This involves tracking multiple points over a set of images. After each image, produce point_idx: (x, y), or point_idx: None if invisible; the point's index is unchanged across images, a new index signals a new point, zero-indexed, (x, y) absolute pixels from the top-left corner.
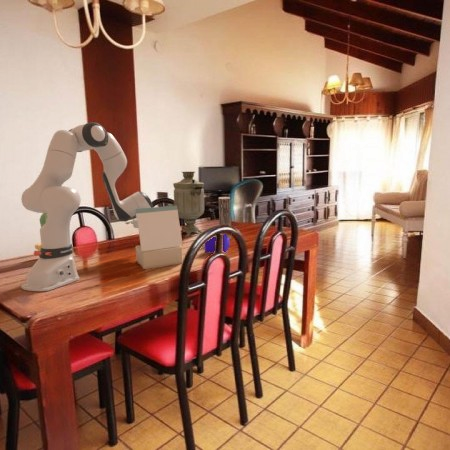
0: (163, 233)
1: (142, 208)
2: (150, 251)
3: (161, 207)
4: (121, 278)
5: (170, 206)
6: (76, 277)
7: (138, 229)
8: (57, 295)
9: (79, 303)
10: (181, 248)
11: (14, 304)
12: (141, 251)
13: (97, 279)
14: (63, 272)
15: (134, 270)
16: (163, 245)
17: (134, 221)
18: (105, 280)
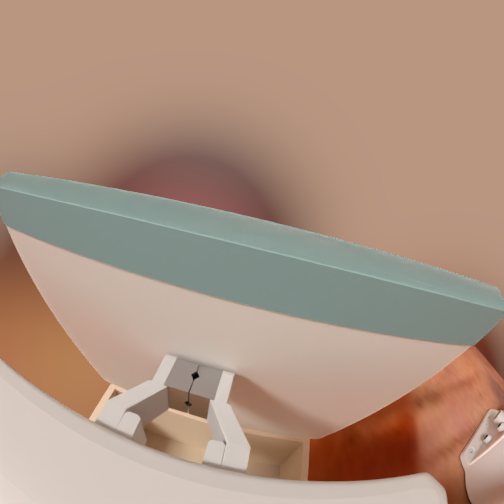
0: None
1: (445, 270)
2: (270, 435)
3: (147, 205)
4: (369, 423)
5: (50, 183)
6: (468, 452)
7: (380, 408)
8: (467, 387)
9: None
10: (113, 385)
11: (499, 380)
12: (308, 465)
13: (424, 444)
14: (496, 418)
15: (318, 476)
16: None
17: (436, 482)
18: (406, 428)
